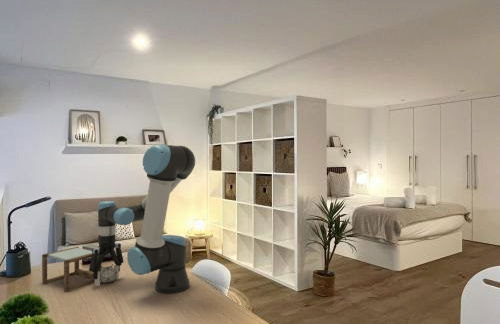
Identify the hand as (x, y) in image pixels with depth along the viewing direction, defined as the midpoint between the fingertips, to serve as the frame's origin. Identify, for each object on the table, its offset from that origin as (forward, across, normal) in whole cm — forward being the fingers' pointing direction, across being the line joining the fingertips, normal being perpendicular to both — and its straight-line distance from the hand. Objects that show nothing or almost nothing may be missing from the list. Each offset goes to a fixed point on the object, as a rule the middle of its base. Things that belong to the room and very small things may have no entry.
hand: (107, 282), depth 156 cm
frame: (0, +8, -15) cm, 17 cm away
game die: (0, 0, 0) cm, 0 cm away
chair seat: (-10, +4, -15) cm, 18 cm away
